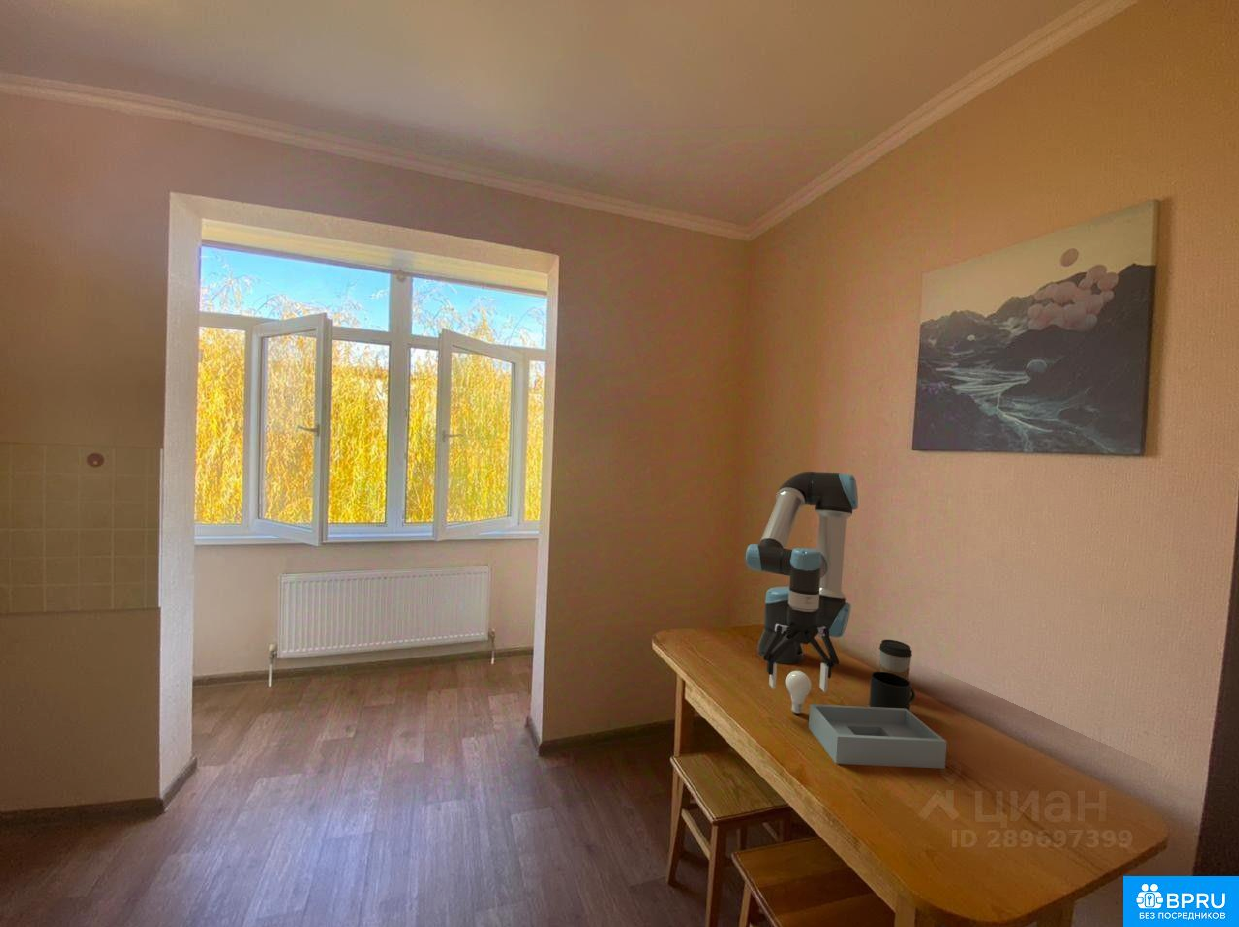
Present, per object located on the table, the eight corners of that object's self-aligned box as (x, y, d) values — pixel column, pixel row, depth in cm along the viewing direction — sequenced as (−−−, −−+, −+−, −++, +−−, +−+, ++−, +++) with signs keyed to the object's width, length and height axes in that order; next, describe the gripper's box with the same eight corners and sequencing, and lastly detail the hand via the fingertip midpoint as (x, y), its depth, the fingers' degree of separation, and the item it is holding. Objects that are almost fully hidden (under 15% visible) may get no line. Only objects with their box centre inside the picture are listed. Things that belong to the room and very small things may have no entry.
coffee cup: (903, 705, 133) (906, 652, 133) (871, 693, 139) (875, 642, 139) (913, 696, 138) (916, 645, 138) (882, 685, 144) (885, 636, 144)
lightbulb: (778, 708, 126) (781, 668, 126) (796, 705, 129) (799, 665, 129) (796, 721, 120) (798, 678, 120) (814, 717, 123) (817, 675, 123)
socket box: (808, 727, 118) (810, 704, 118) (904, 732, 118) (906, 708, 118) (835, 763, 104) (837, 736, 104) (944, 768, 104) (946, 741, 104)
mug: (926, 721, 124) (928, 687, 124) (884, 721, 123) (886, 687, 123) (901, 703, 134) (903, 671, 134) (861, 703, 132) (863, 671, 132)
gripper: (760, 608, 120) (755, 691, 120) (856, 614, 121) (851, 697, 121) (751, 600, 128) (746, 678, 128) (842, 606, 129) (837, 684, 128)
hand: (797, 688), depth 124 cm, fingers open, 13 cm apart
